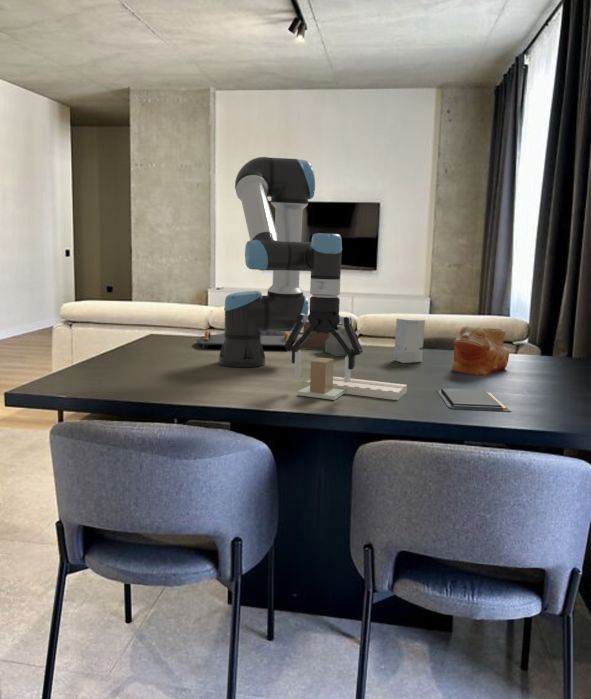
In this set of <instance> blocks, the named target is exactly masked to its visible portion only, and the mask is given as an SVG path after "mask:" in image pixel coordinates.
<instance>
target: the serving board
mask: <svg viewBox="0 0 591 699" xmlns="http://www.w3.org/2000/svg"><path fill="white" fill-rule="evenodd" d="M224 336H225V334H211V330H210V329H206V330H205V331H204V335H202V336H200V337H198V338H197V340H196V342H197V343H199V345H202V350H208V349H209V346H223V343H224ZM289 337H290V332H287V331H284V335H260V340H261V344H262V347H284V350H285V351H287V350H289V351H291V350H290V349H288V348H285V344H286V342H287V340H288V338H289ZM297 341H298V339H296V341H295V343H296V342H297ZM295 343H294V344H293V345H295Z"/></svg>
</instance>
